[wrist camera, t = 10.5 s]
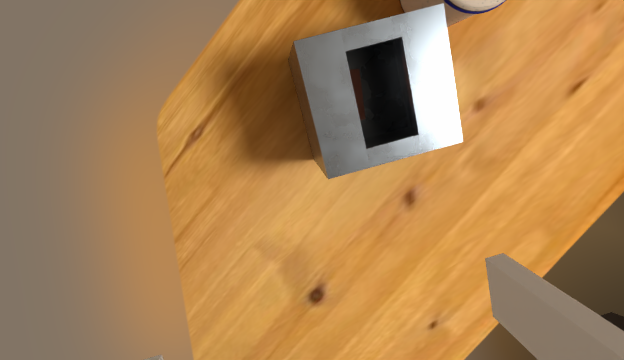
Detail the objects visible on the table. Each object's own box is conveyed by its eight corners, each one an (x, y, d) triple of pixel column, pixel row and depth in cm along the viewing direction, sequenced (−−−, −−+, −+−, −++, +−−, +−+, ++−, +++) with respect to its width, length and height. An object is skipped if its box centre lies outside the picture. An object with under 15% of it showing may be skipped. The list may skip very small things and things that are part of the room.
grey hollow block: (314, 159, 40) (328, 179, 30) (288, 59, 38) (293, 41, 27) (414, 132, 41) (463, 141, 30) (396, 31, 38) (443, 3, 28)
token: (347, 120, 39) (320, 129, 34) (340, 72, 38) (311, 75, 33) (365, 118, 38) (339, 127, 33) (359, 69, 36) (331, 70, 32)
